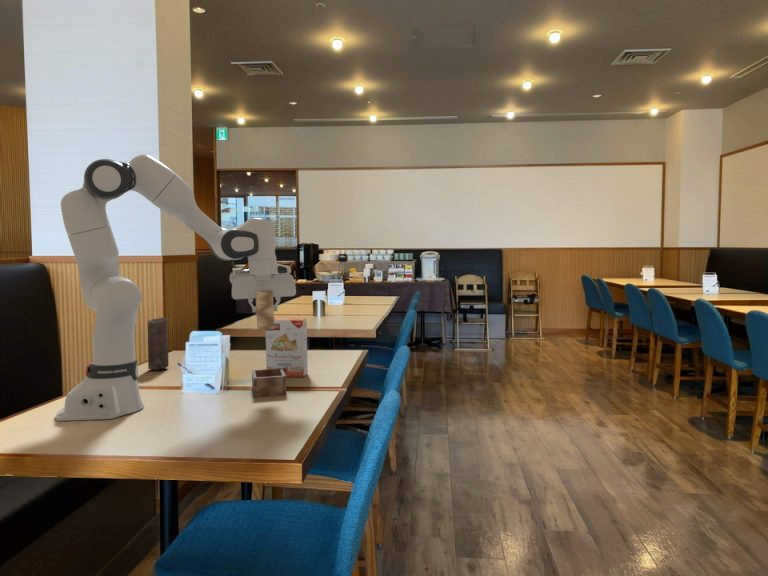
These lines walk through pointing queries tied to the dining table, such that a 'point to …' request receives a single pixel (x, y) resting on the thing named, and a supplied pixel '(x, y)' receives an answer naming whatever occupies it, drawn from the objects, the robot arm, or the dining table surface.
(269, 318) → the oak block
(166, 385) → the dining table surface
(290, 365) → the cracker box
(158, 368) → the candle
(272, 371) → the caddy
